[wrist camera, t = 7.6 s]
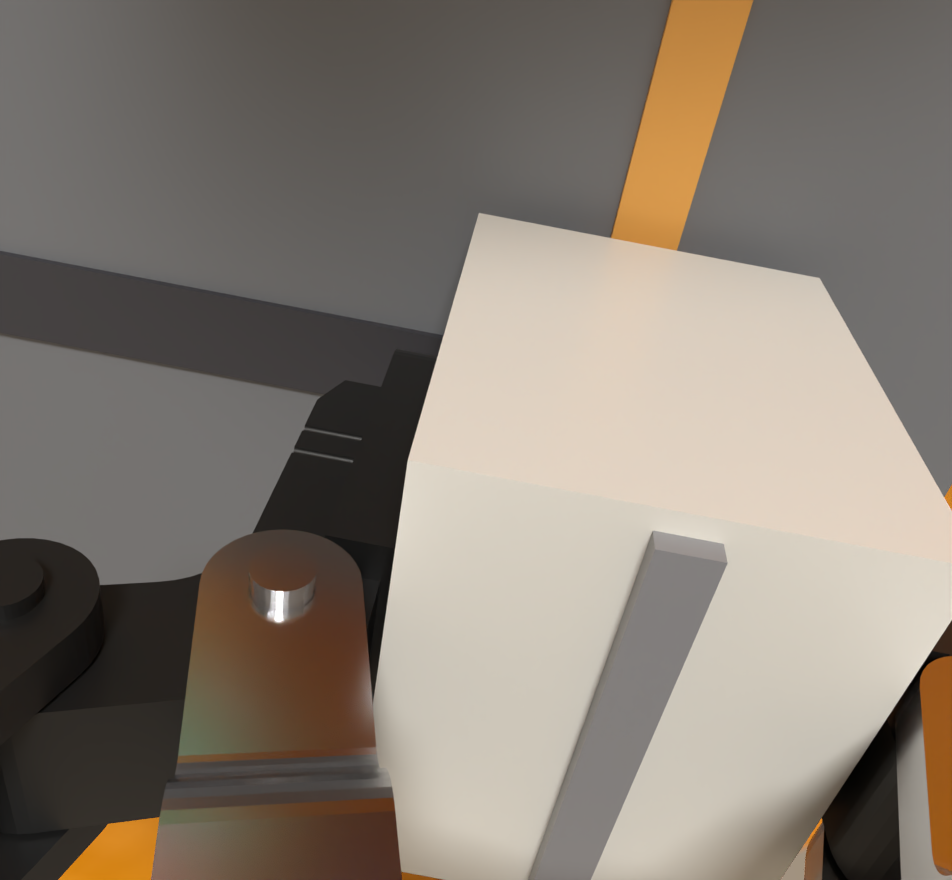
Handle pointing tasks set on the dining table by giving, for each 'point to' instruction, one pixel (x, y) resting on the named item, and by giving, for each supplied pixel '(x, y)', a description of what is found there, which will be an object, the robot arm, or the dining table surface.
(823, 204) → the console board
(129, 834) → the dining table surface
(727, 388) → the slider knob
